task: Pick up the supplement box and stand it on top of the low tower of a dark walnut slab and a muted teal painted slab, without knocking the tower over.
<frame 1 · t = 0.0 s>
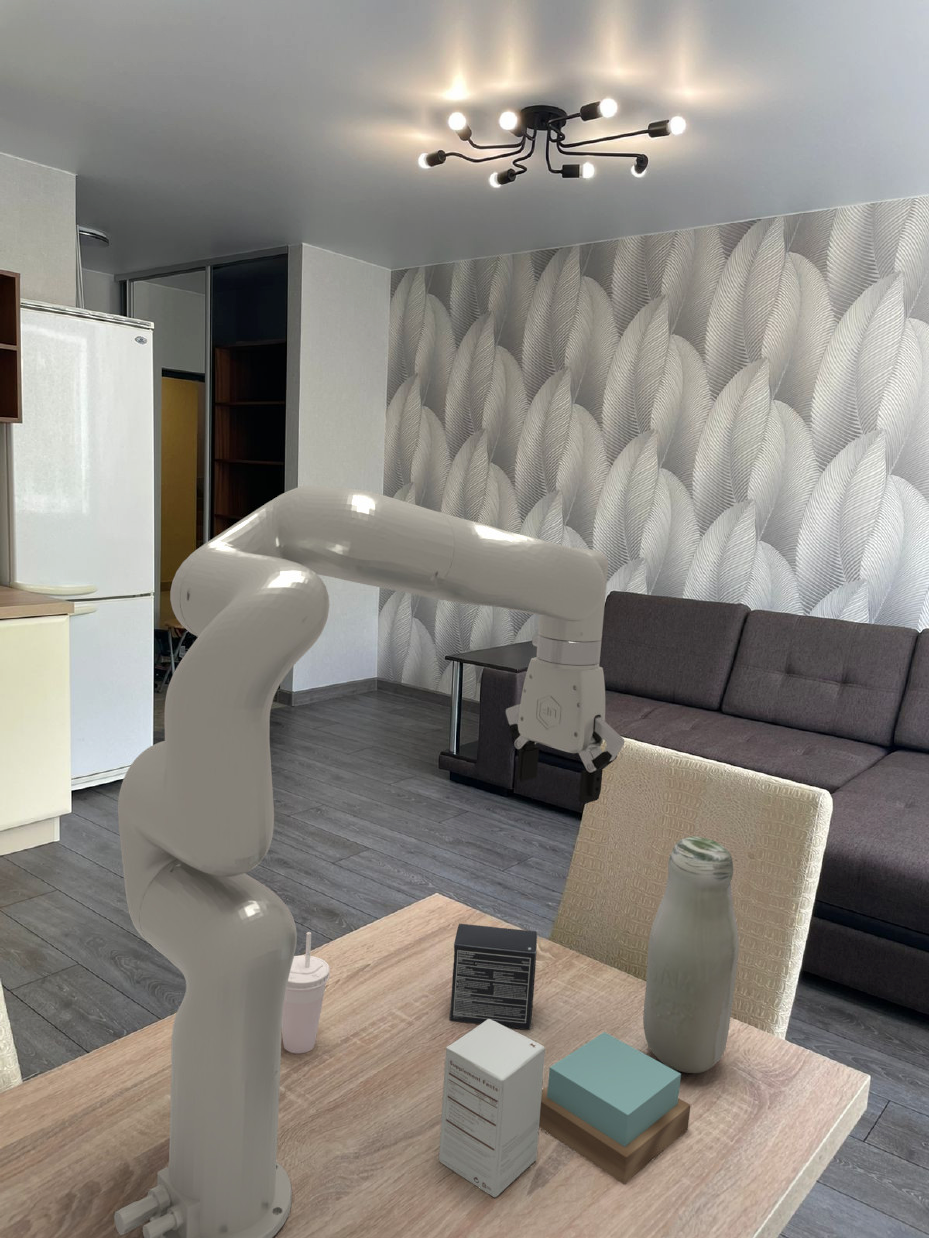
hand: (556, 789, 113), 31 cm above the table, tool pointing down, fingers open, 9 cm apart
supplement box: (487, 1163, 93), on the table
smoothie: (299, 1045, 110), on the table
glass bottle: (680, 1063, 112), on the table
small box: (491, 1013, 120), on the table
tower base: (609, 1130, 100), on the table
tower top: (612, 1100, 99), point 3 cm above the table
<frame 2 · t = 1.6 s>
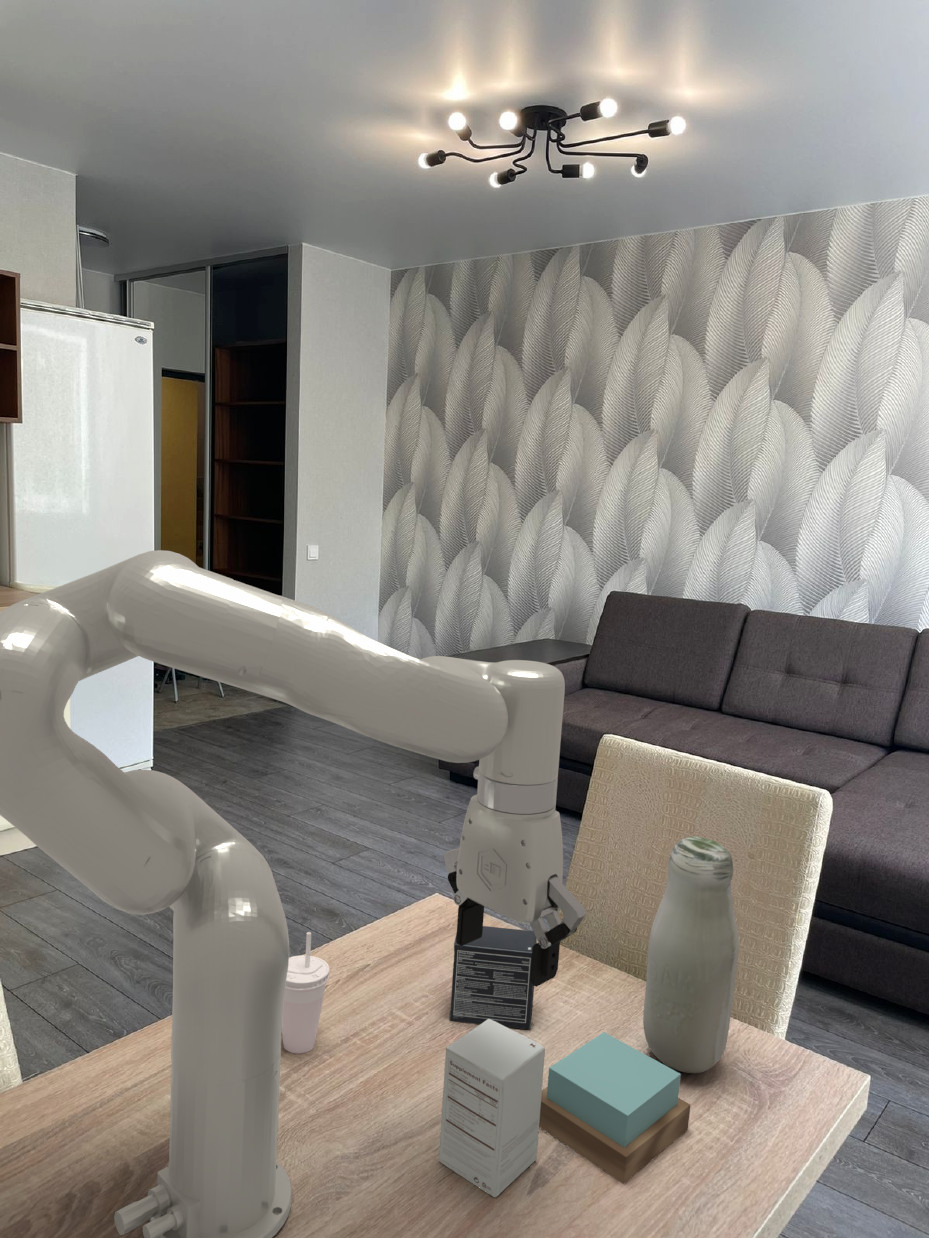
hand: (504, 959, 90), 22 cm above the table, tool pointing down, fingers open, 9 cm apart
nothing on the table moved.
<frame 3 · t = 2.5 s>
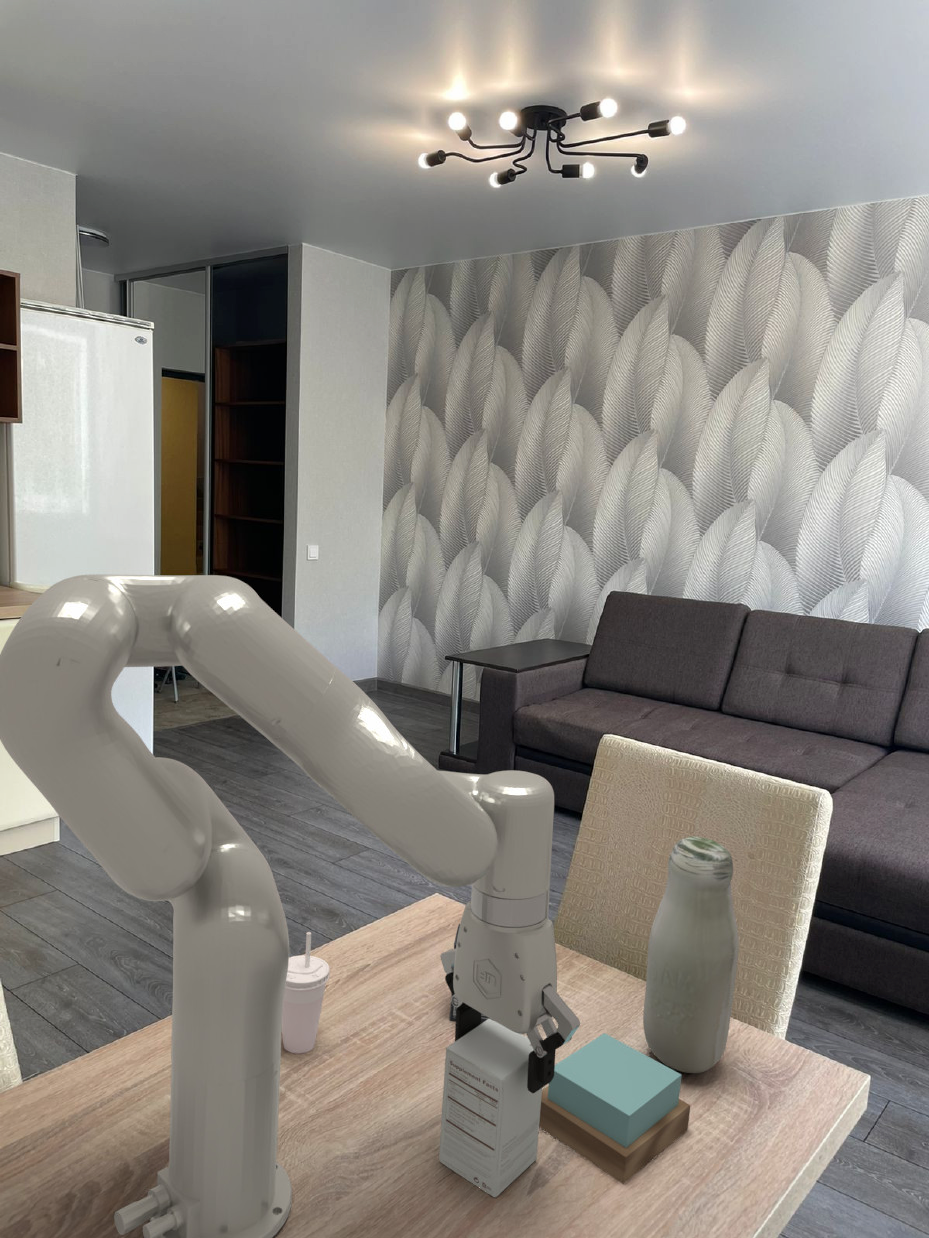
hand: (502, 1062, 92), 11 cm above the table, tool pointing down, fingers open, 9 cm apart
tower base: (608, 1130, 100), on the table, touching tower top
tower top: (613, 1101, 99), point 3 cm above the table, touching tower base
everything else where it was.
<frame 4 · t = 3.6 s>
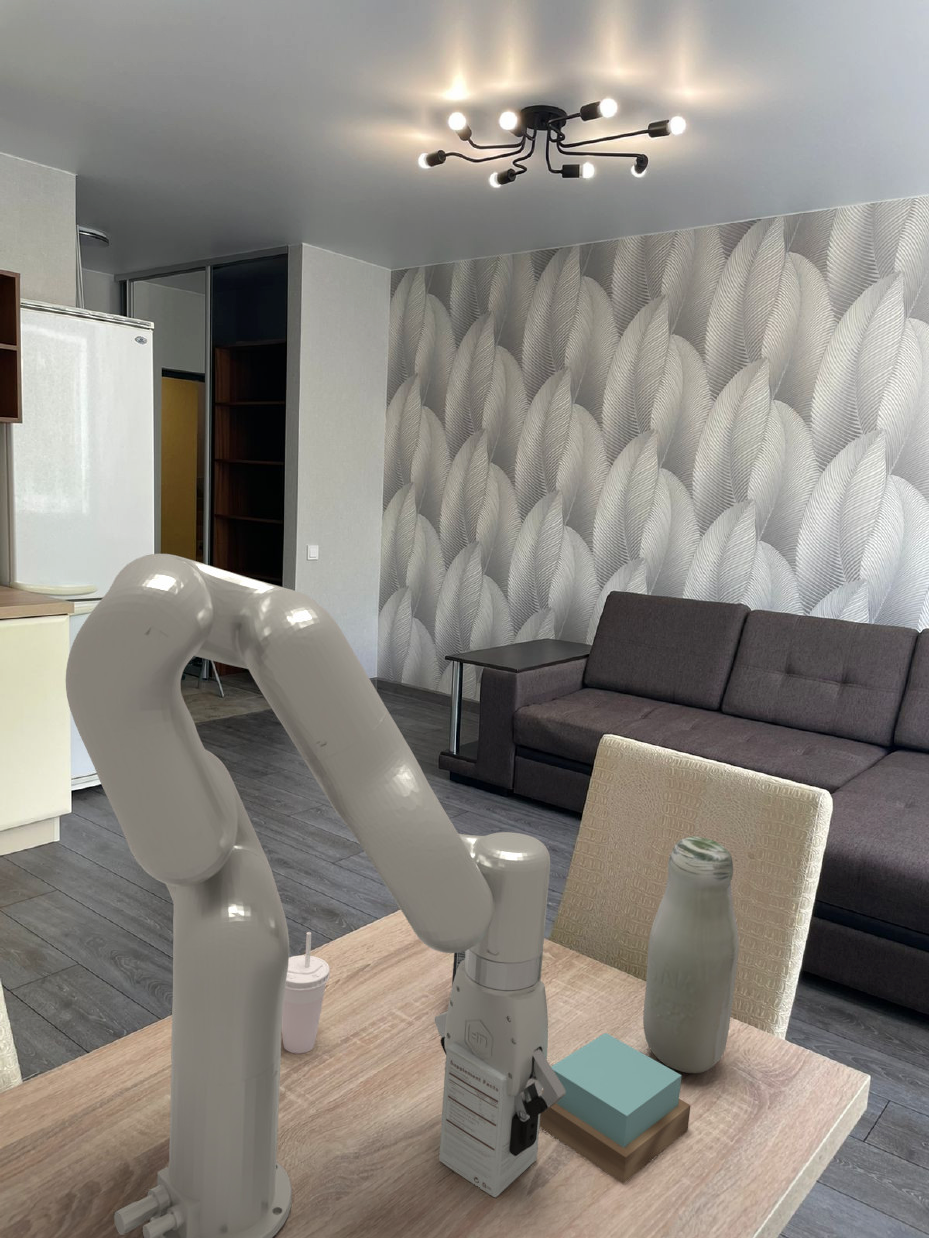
hand: (490, 1124, 93), 4 cm above the table, tool pointing down, fingers closed on supplement box, 7 cm apart
supplement box: (487, 1162, 93), on the table, touching gripper
everything else where it was.
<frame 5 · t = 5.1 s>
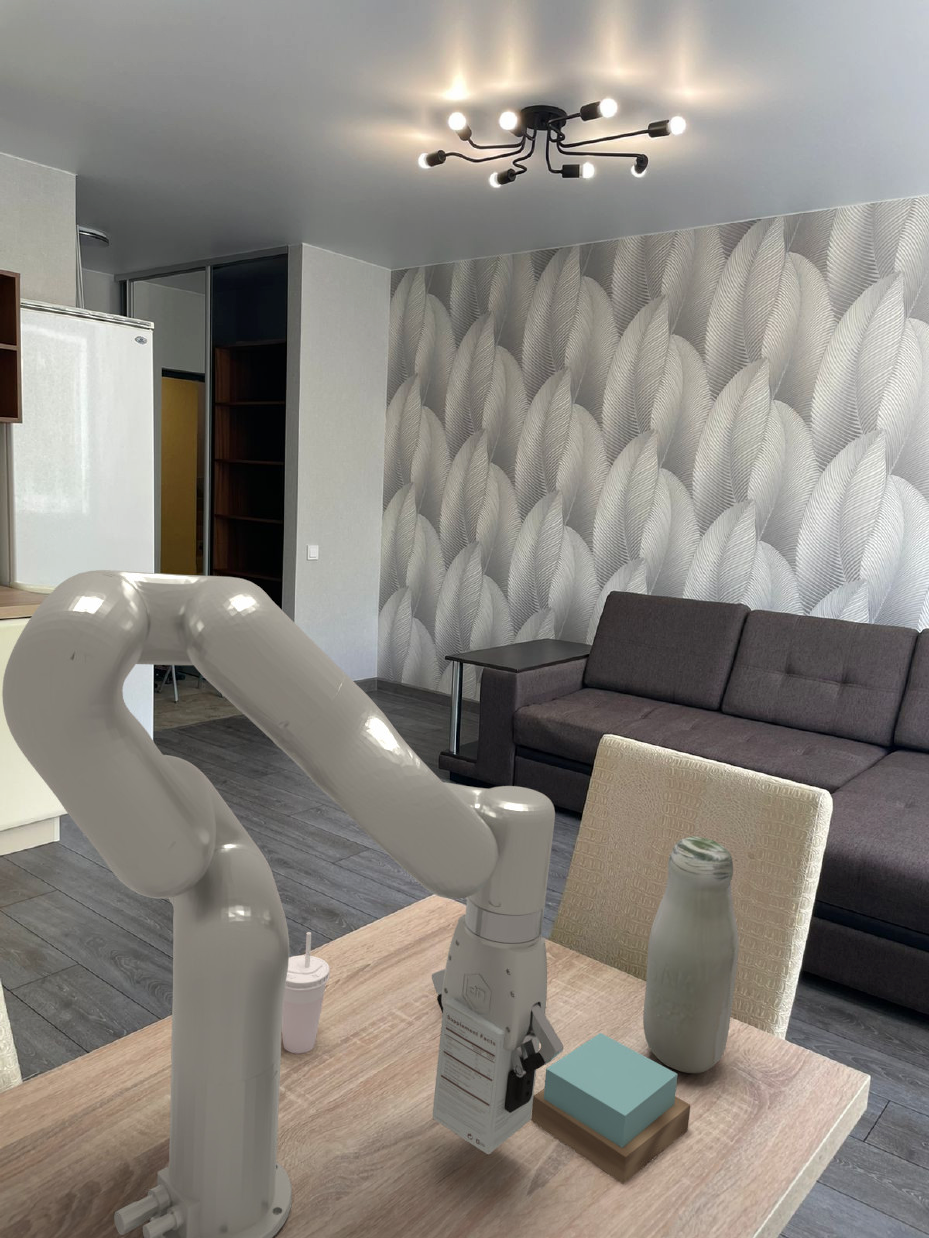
hand: (485, 1082, 92), 9 cm above the table, tool pointing down, fingers closed on supplement box, 7 cm apart
supplement box: (480, 1121, 92), point 4 cm above the table, touching gripper
everything else where it was.
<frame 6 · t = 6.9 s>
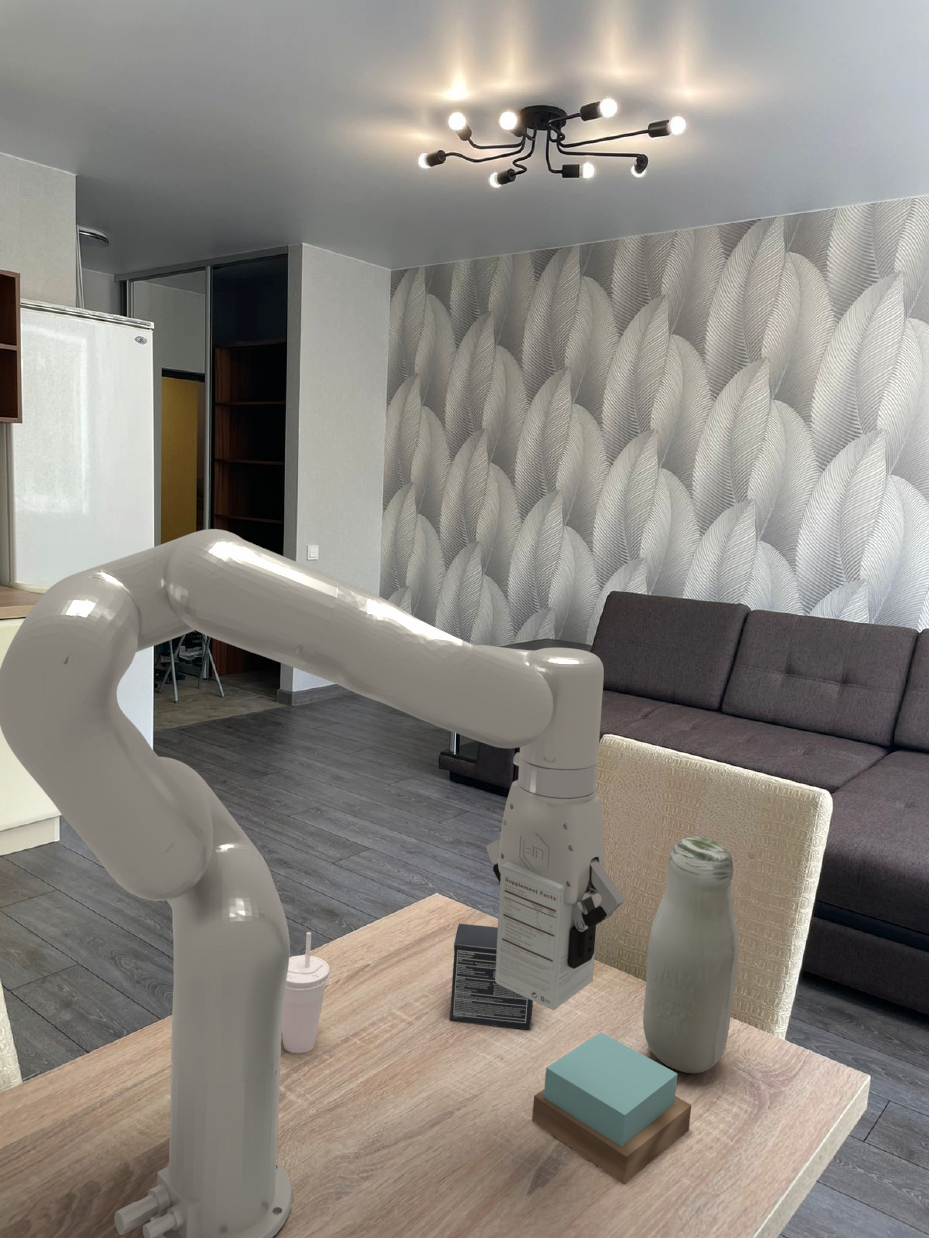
hand: (546, 945, 92), 22 cm above the table, tool pointing down, fingers closed on supplement box, 7 cm apart
supplement box: (543, 984, 93), point 18 cm above the table, touching gripper
everything else where it was.
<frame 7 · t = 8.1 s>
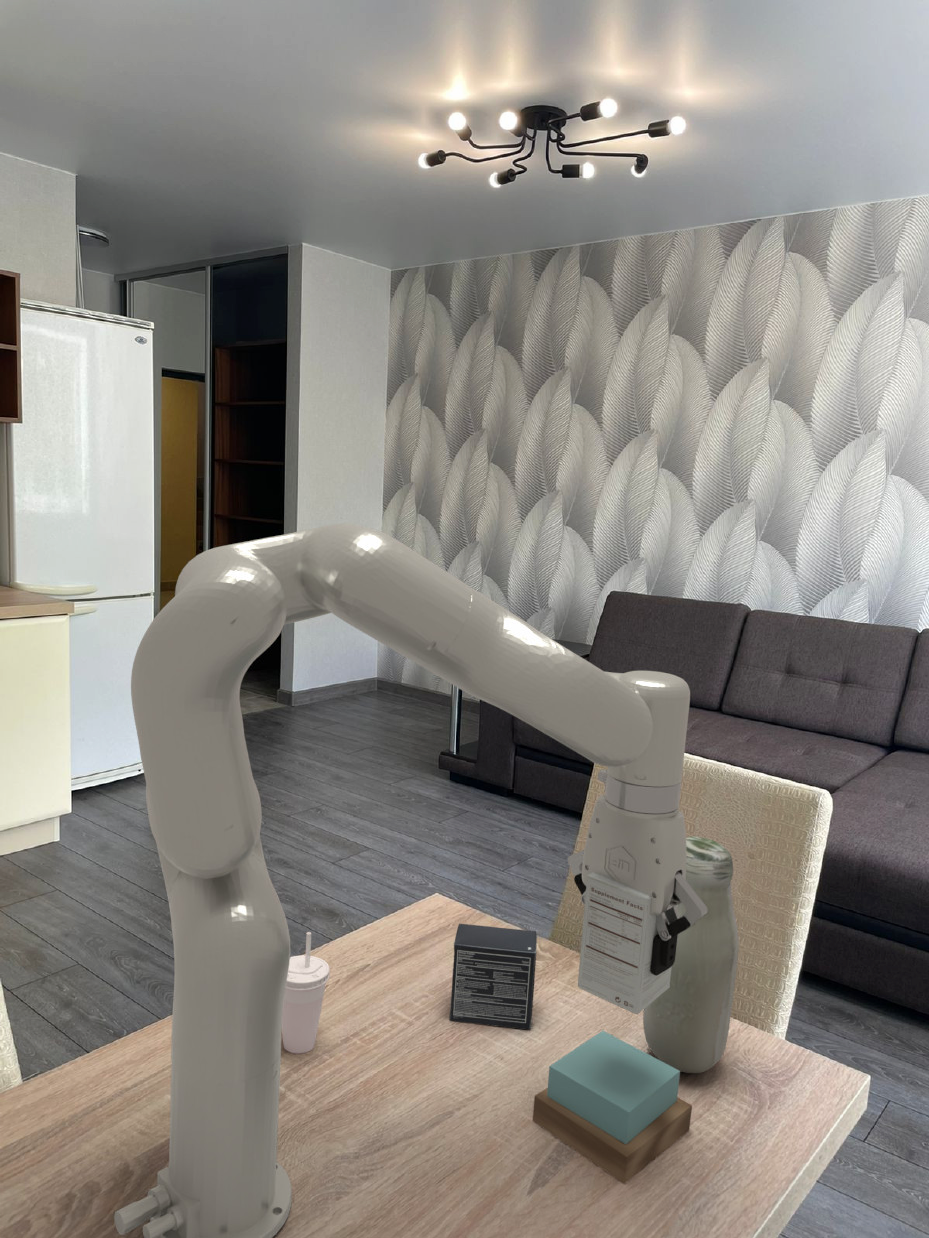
hand: (626, 953, 97), 20 cm above the table, tool pointing down, fingers closed on supplement box, 7 cm apart
supplement box: (623, 990, 98), point 16 cm above the table, touching gripper
everything else where it was.
when the fingers open (12 cm above the table, at t = 10.0 s): supplement box drops 2 cm, resting on tower top.
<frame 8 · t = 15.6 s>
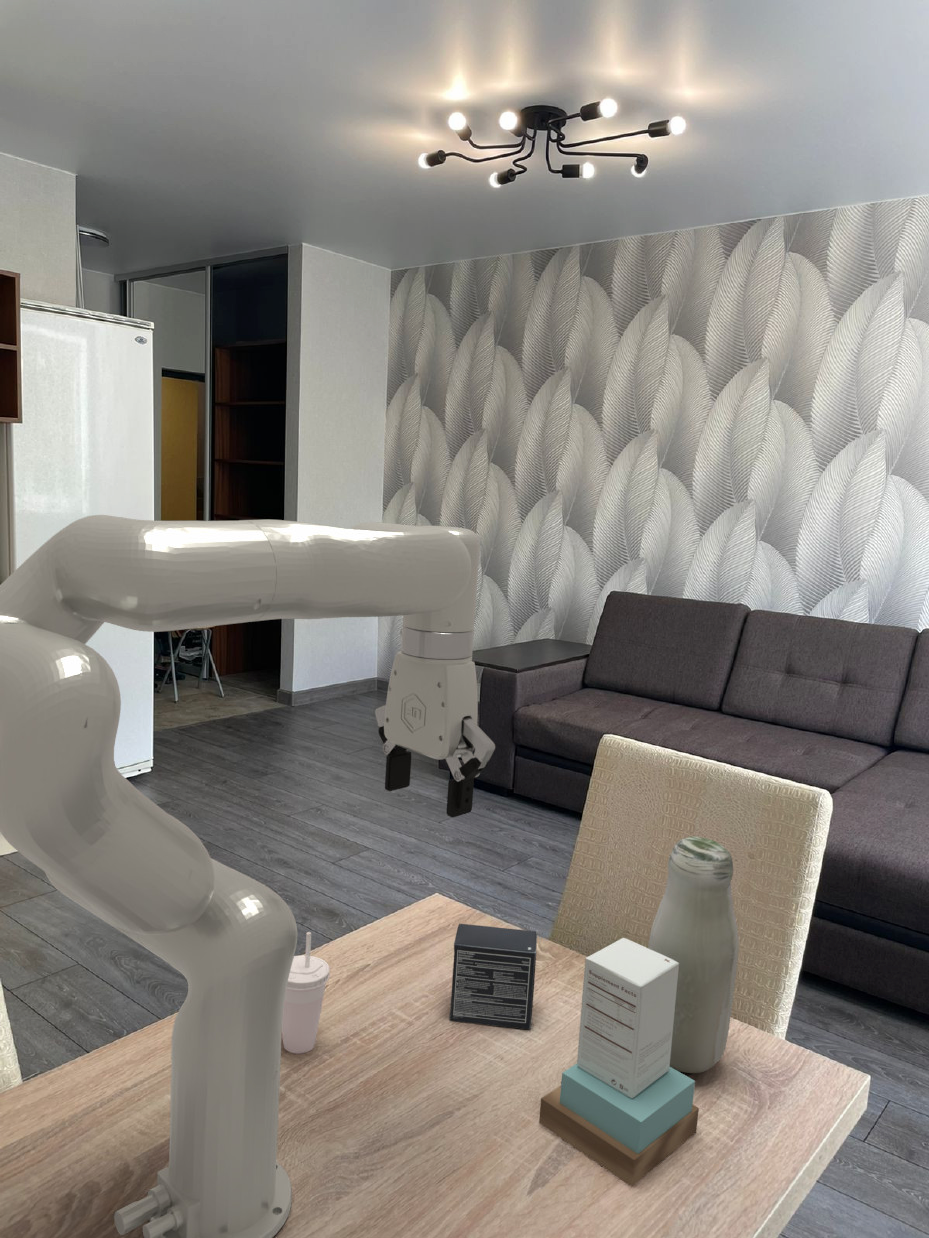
hand: (427, 800, 100), 33 cm above the table, tool pointing down, fingers open, 9 cm apart
supplement box: (622, 1070, 99), point 6 cm above the table, touching tower top
tower top: (625, 1106, 99), point 3 cm above the table, touching supplement box, tower base
everything else where it was.
at the end: supplement box inside the target area on the tower top (1.3 cm from its centre), point 3.3 cm above the tower top's base; tower top 0.7 cm off-centre on the tower base, point 3.5 cm above the tower base's base; supplement box tilted 0° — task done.
